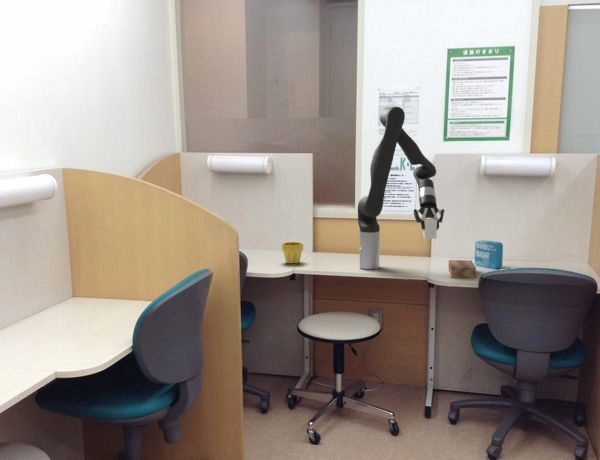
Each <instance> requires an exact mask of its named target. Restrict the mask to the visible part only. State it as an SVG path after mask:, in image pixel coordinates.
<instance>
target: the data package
mask: <svg viewBox="0 0 600 460" xmlns="http://www.w3.org/2000/svg"><path fill="white" fill-rule="evenodd" d="M503 257H504V245H503V243H502V242H500V241H492V240H486V239H481V240H476V241H475V243H474V263H473V264H474V266H475V267H479V268H480V267H481V268H485V269H486V268H487V269H492V270H498V269H501V268H502V266H503V259H504V258H503Z"/></svg>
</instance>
